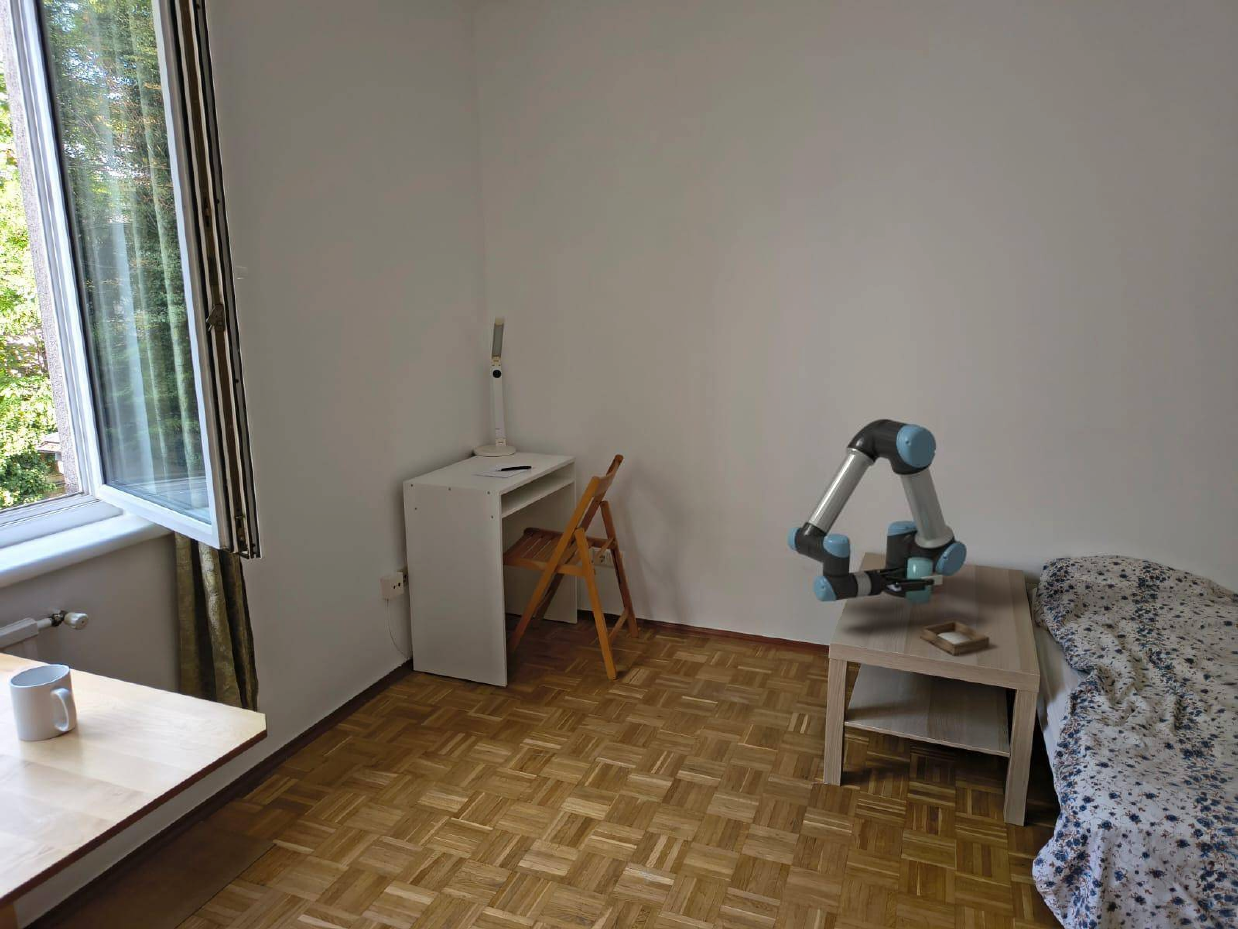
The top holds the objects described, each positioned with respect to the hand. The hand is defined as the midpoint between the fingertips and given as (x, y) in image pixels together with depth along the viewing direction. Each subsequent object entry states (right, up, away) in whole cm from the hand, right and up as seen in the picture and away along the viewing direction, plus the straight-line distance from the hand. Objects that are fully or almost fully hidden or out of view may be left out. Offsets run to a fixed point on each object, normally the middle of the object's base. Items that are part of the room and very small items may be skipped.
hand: (933, 574), depth 256 cm
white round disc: (+1, -18, -12) cm, 22 cm away
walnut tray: (+1, -18, -12) cm, 22 cm away
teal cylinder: (-5, -7, +1) cm, 9 cm away
